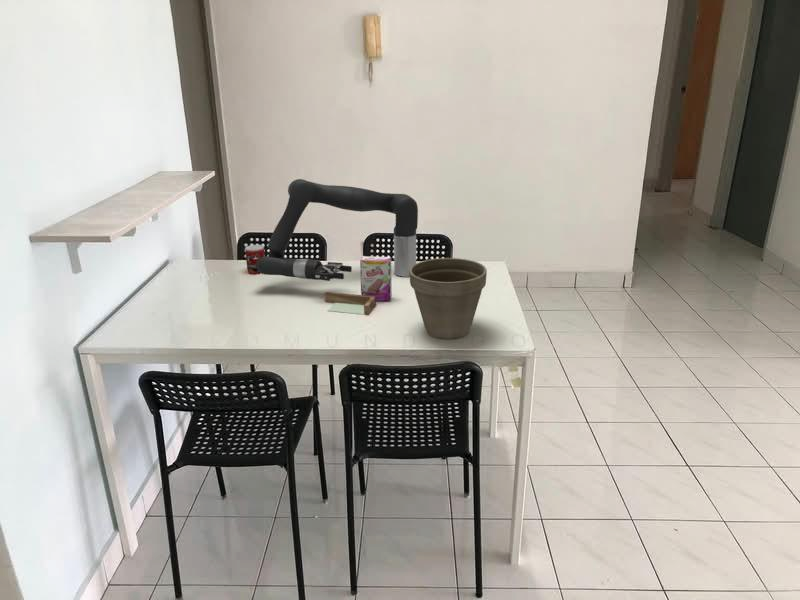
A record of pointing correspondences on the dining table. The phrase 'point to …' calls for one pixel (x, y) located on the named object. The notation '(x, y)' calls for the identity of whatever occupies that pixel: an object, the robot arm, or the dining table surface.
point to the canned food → (253, 257)
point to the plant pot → (447, 294)
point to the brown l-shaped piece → (352, 300)
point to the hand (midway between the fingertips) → (347, 272)
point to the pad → (347, 308)
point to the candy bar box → (376, 277)
